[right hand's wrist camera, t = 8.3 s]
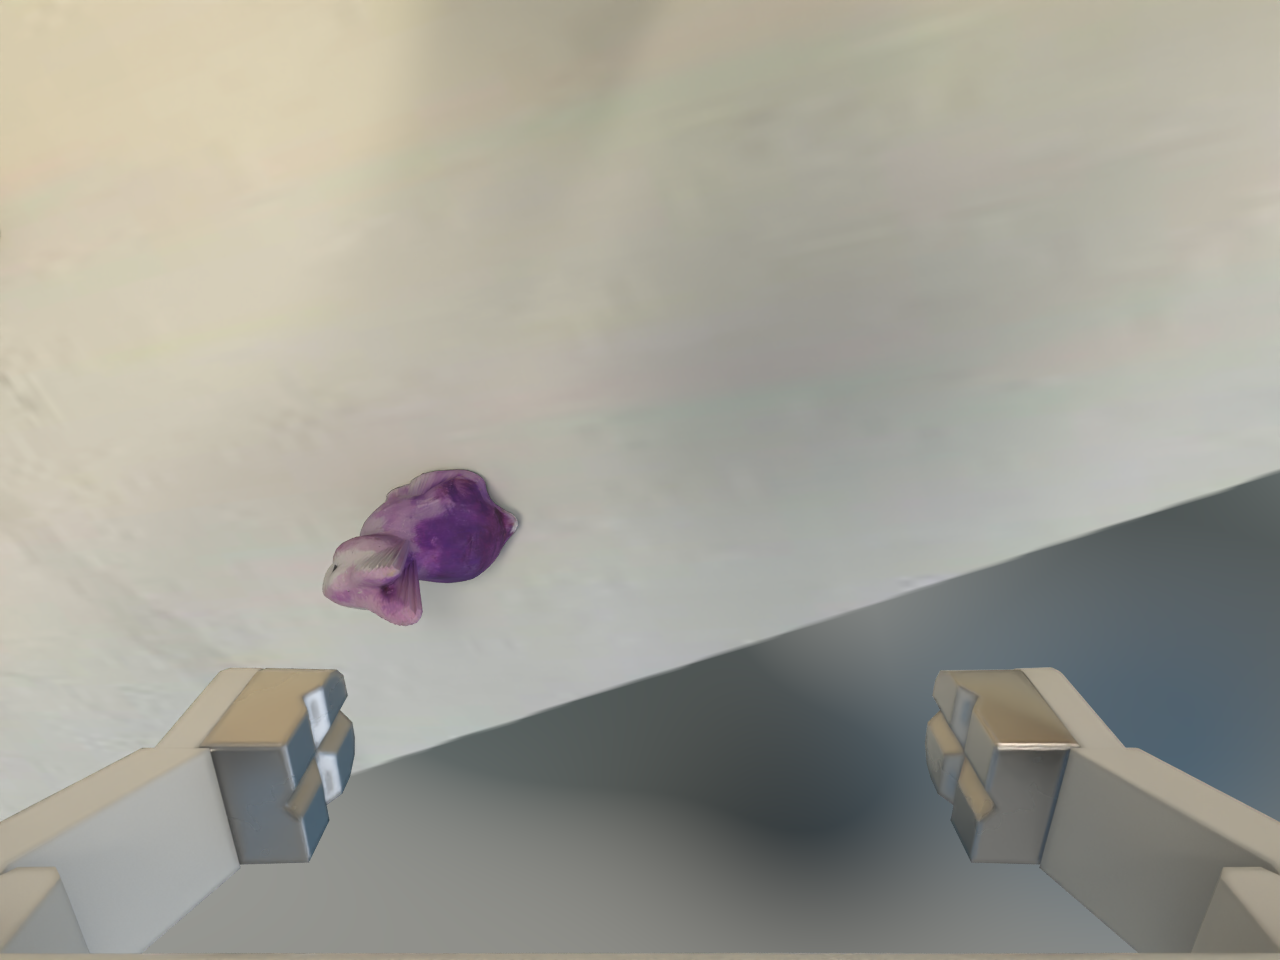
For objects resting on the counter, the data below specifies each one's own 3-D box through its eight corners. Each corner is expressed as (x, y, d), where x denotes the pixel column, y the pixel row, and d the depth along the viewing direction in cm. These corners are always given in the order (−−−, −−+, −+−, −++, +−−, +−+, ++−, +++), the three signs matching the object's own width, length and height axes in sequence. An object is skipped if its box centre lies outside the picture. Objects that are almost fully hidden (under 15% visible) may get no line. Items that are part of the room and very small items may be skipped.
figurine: (356, 519, 61) (273, 619, 48) (438, 435, 59) (375, 515, 45) (446, 592, 64) (392, 708, 50) (528, 514, 61) (496, 614, 47)
